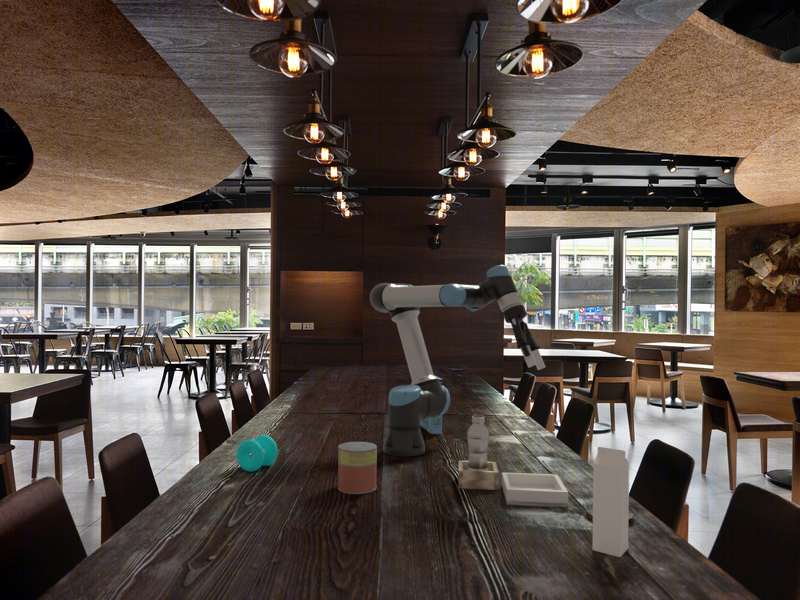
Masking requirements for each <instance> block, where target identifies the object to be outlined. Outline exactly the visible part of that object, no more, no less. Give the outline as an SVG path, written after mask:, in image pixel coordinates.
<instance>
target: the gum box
mask: <svg viewBox="0 0 800 600" xmlns="http://www.w3.org/2000/svg"><path fill="white" fill-rule="evenodd" d="M434 376H435V377H437V378H439V381H440V385H442V386H444V379H443V378H440V377H439V376H436V375H434ZM420 427H422V428H423V429H424V430H425V429H426V431H427V432H428V433H429V434H430V433H431V434H435V435H443V414H442V415H440V416H438V417H435V418H427V419H422V420H421V424H420ZM431 434H430V435H431Z"/></svg>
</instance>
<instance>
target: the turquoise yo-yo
mask: <svg viewBox="0 0 800 600" xmlns="http://www.w3.org/2000/svg"><path fill="white" fill-rule="evenodd" d="M278 452H279V450H278V445H277V442H276V441H275V440H274V438H272V437H271V436H269V435H267V434H262V435H259V436H257V437H256V438H255V439H246V440H243V441H242V442H241V443H240V444H239V445H238V447H237V449H236V460H237V463H238V465H239V467H240V468H241V469H242V470H244V471H246V472H250V473H252V472H256V471H257V470H259V469H260V468H261V467H268V466H271V465H272V464H274V463H275V461H276V460H277V457H278Z"/></svg>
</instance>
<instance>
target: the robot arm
mask: <svg viewBox="0 0 800 600" xmlns="http://www.w3.org/2000/svg"><path fill="white" fill-rule="evenodd" d="M486 277H487V279H485V280H483V281H482V282H481V283H479V284H477V285H475V284H458V283H447V284H434V285H430V284H428V285H413V284H409V283H394V282H393V283H390V282H382V283H379V284H376V285H375V286H374V287H373V288H372V289H371V291H370V293H369V302H370V304H371V306H372V308H373V309H375V311H377V312H380V313H385V314H389V316H390V319H391V321H392V322H394V323H395V324H396V326H397V330H398V334H399V338H400V340H401V342H400V343H401V345H402V348H403V352H404V356H405V360H406V363H407V367H408V370H409V374H410V378H411V383H410V384H404V385H397V386H395V387H393V388H391V389H390V390H389V394H388V430H387V433H386V436H385V439H384V443H383V448H382V449H383V450H382V451H383V453H384V454H387V455H389V456H394V457H416V456H421V455H423V454H425V452H426V444H425V440H424V438H423V434H422V430H421V425H420V424H421V420H422V419H427V418H435V417H438V416H440V415H442V416H443V415H444V414H445V413H446V412H447V411H448V410H449V407H450V405H451V396H450V395H451V394H450V392H449V390H448V388H447V387H445V385H443V386H442V385H440V381H439V378H440V377H439V378H437V377H438V376H437V377H435V376H436V375H434V372H433V368H432V365H431V361H430V358H429V354H428V350H427V347H426V344H425V343H426V342H425V340H424V336H423V332H422V329H421V326H420V322H419V319H418V318H419V315H420V313H421V312H420V309H421V308H427V307H429V308H434V307H437V308H439V307H449V308H450V307H452V308H453V307H455V308H456V307H465V308H466V309H467V310H469V311H470V312H477V311H478V310H481V309H483V308H485V307H486V306H488V305H489V304H491V303H492V302H495V300H497V304H498V306H499V308H500V311H501V312H502V316H503V318H504V320H505V322H506V324H511V328H512V331H513V335H514V338H515V341H516V348H517V349H520V351H521V353H522V356H523V358H524V361H525V363H526V365H527V368H528V369H529V368H533V367H534V366H535V367H536V369H537V371H540V370H542V369H545V368H546V365H545V362H544V360H543V357H542V355H541V353H540V349H541V347H540V345H538V344H537V342H536V340H535V338H534V336H533V335H532V332H531V330H530V328H529V327H528V323H527V322H525V321H524V318H526V317H527V316H528V312H527V310H526V307H525V306H524V305H523V301H522V299H521V298H522V294H519V291H518V289H517V287H516V285H515V283H514V279H513V276H512V274H511V273H510V270H509V269H508V267H507V266H506V265H505V264H500V265H498V264H497V265H495V266H492V267H490V268H489V269H488V270H487V271H486Z"/></svg>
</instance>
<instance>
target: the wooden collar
mask: <svg viewBox="0 0 800 600" xmlns="http://www.w3.org/2000/svg"><path fill="white" fill-rule="evenodd" d="M487 464H488V470H489V471H478V470H467V468H468V460H458V470H457V471H458V476H457V477H458V478H457V479H458V481H457V482H458V489H469V490H494V491H498V490H499V470H498V465H497V462H496V461H487Z"/></svg>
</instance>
